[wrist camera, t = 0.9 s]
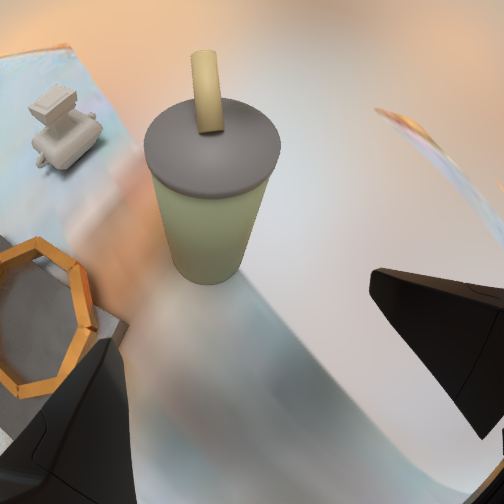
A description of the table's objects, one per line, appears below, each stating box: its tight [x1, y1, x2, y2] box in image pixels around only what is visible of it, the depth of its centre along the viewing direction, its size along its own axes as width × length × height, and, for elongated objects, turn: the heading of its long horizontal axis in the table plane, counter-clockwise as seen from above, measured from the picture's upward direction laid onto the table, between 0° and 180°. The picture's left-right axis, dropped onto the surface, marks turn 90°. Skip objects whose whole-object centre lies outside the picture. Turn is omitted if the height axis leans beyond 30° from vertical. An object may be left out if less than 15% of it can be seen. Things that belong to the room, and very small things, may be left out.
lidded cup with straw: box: [144, 50, 281, 285], centre depth 16 cm, size 7×6×16 cm
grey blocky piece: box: [28, 84, 103, 170], centre depth 22 cm, size 9×7×8 cm
